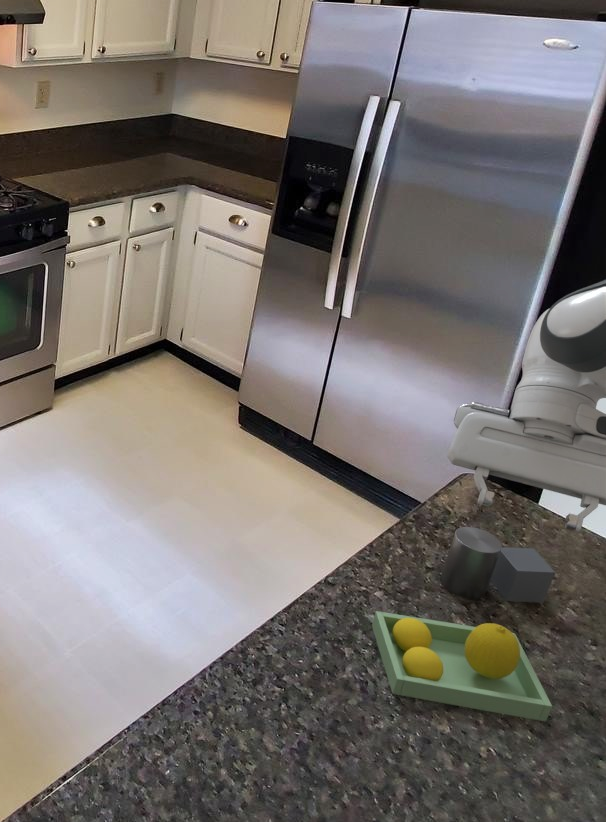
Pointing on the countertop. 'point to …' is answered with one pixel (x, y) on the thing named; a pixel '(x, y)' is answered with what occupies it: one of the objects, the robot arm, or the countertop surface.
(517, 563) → the grey block
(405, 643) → the small lemon
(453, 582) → the grey tin
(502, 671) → the lemon
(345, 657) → the countertop surface
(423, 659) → the small lemon
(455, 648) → the tray
